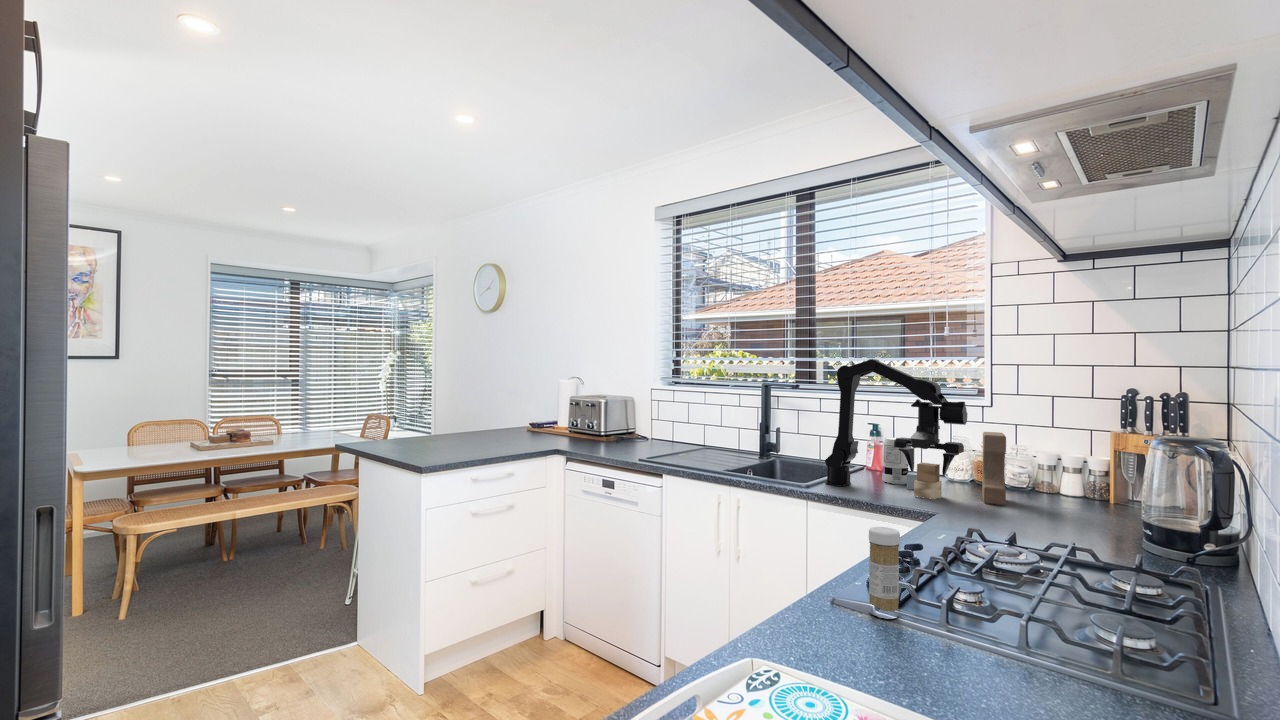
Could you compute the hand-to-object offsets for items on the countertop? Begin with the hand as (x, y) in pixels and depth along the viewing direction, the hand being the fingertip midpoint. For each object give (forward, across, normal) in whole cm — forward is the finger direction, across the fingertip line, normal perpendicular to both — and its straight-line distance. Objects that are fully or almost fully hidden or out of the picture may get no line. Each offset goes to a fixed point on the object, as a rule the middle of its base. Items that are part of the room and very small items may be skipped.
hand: (927, 473), depth 188 cm
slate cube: (+7, -7, +10) cm, 14 cm away
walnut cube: (+2, 0, 0) cm, 2 cm away
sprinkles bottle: (+7, +27, -100) cm, 104 cm away
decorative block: (+7, +16, +8) cm, 19 cm away
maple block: (+7, 0, 0) cm, 7 cm away
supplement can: (+7, -16, +16) cm, 24 cm away
